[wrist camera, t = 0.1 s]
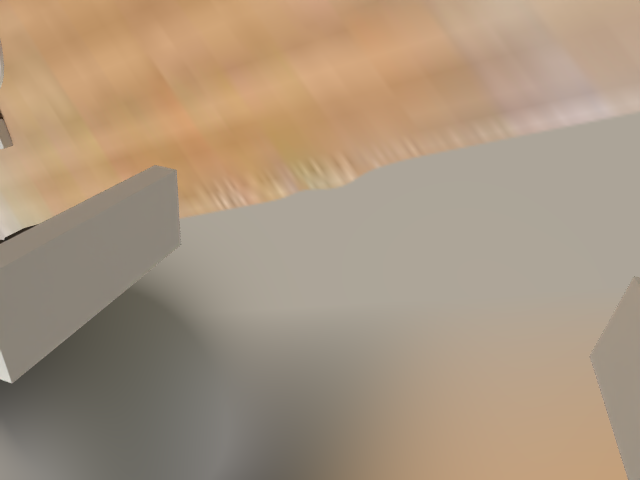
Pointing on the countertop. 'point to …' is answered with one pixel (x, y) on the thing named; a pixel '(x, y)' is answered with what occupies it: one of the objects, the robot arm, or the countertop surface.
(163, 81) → the countertop surface
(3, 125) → the pliers
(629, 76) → the countertop surface
